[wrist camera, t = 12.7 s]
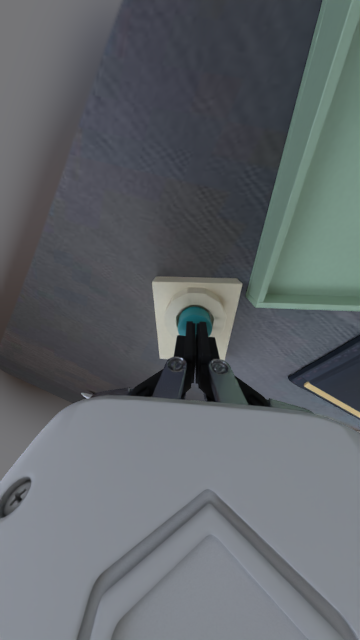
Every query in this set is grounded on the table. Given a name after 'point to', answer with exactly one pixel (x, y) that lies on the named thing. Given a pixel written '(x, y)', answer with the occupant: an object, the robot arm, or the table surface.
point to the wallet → (335, 378)
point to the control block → (194, 292)
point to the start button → (194, 319)
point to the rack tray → (318, 181)
